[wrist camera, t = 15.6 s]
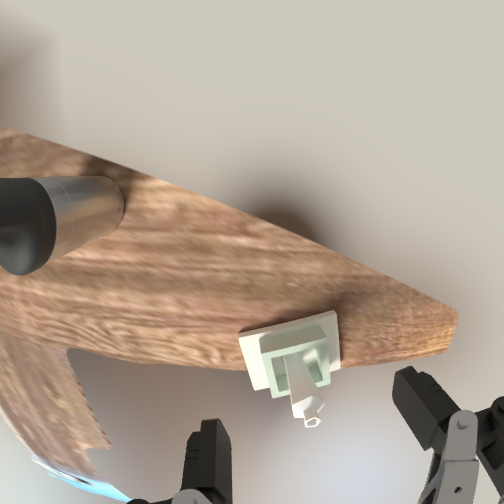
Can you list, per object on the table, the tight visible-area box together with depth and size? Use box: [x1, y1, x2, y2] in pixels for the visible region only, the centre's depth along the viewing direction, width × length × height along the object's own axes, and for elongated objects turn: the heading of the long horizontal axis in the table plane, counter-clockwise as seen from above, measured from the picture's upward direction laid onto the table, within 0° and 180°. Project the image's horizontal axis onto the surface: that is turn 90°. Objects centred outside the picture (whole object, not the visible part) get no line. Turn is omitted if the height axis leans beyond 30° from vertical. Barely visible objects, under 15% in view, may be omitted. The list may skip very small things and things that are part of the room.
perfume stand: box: [238, 310, 341, 398], centre depth 41 cm, size 16×12×6 cm
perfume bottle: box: [281, 351, 325, 427], centre depth 35 cm, size 5×4×15 cm
